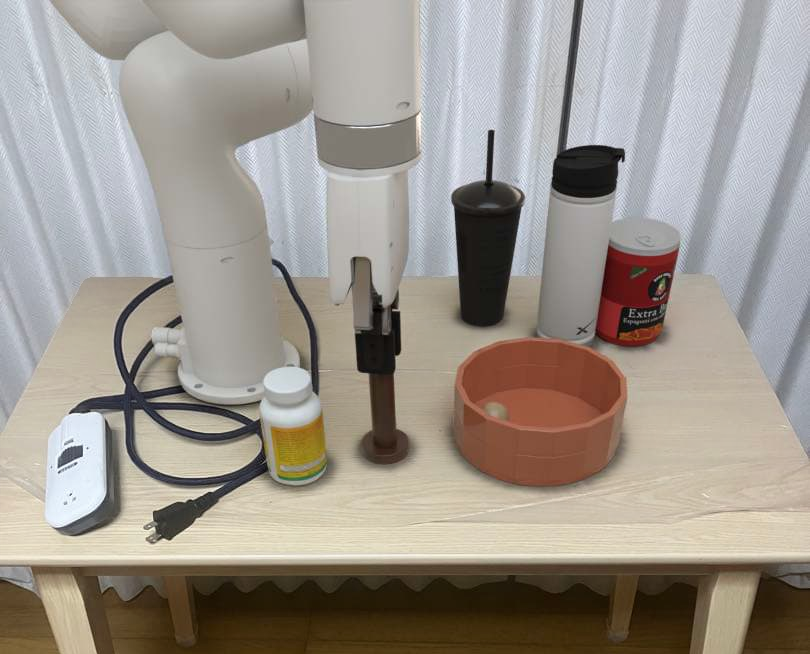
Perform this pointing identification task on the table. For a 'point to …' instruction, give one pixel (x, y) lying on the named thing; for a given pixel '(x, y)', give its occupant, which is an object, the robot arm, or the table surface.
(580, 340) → the travel mug
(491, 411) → the bead
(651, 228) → the canned food
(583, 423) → the bowl
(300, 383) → the supplement bottle
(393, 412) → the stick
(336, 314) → the table surface
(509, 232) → the drinking cup
